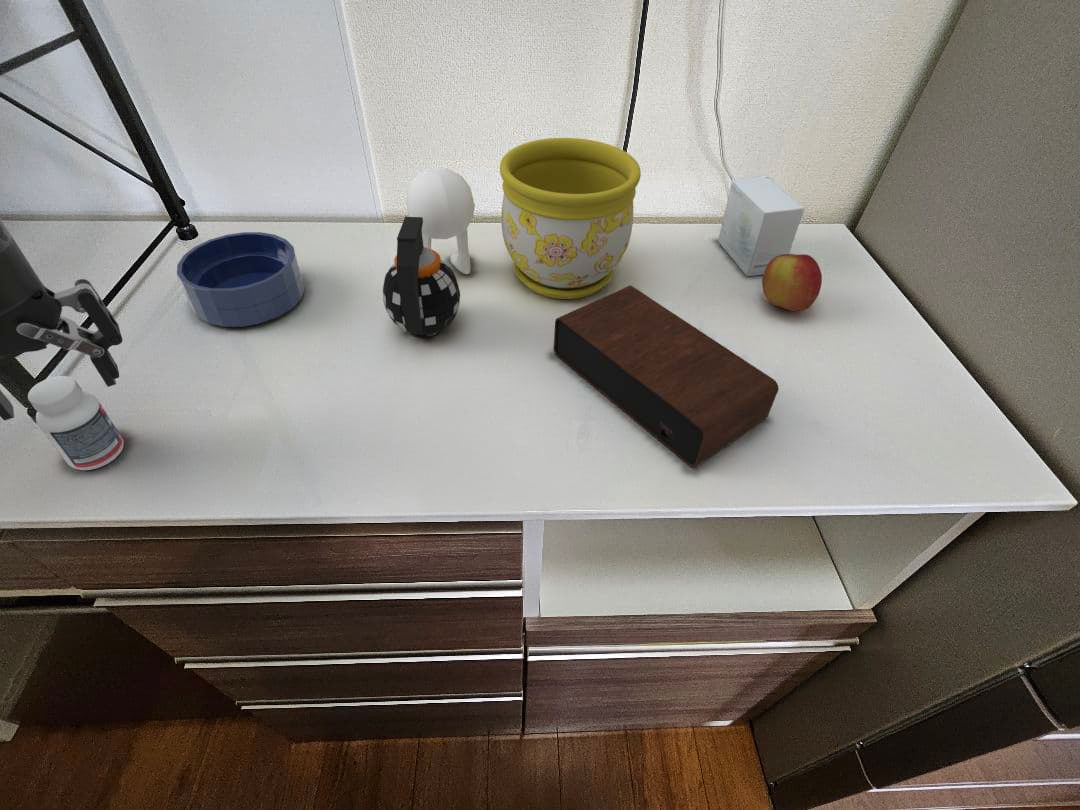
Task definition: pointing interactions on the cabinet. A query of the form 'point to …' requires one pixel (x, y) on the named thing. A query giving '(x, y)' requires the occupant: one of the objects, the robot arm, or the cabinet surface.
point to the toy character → (443, 210)
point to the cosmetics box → (758, 223)
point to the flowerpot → (567, 213)
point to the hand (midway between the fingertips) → (61, 397)
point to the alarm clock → (664, 373)
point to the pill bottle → (75, 423)
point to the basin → (241, 278)
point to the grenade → (419, 285)
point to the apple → (792, 281)
